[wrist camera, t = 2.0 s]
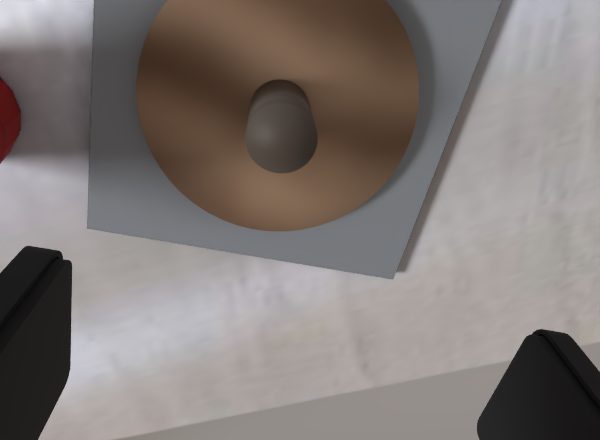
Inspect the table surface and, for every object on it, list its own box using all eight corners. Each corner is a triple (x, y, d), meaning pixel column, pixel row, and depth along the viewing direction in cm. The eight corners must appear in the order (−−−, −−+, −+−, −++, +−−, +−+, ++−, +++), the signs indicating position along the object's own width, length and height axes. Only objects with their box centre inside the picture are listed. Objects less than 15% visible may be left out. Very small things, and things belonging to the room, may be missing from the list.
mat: (105, -168, 21) (99, -173, 20) (513, -50, 24) (521, -50, 23) (91, 222, 30) (87, 228, 29) (390, 272, 33) (393, 279, 32)
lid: (152, -89, 22) (114, -107, 16) (455, -9, 24) (506, -2, 19) (132, 200, 28) (100, 253, 23) (369, 241, 31) (389, 298, 25)
